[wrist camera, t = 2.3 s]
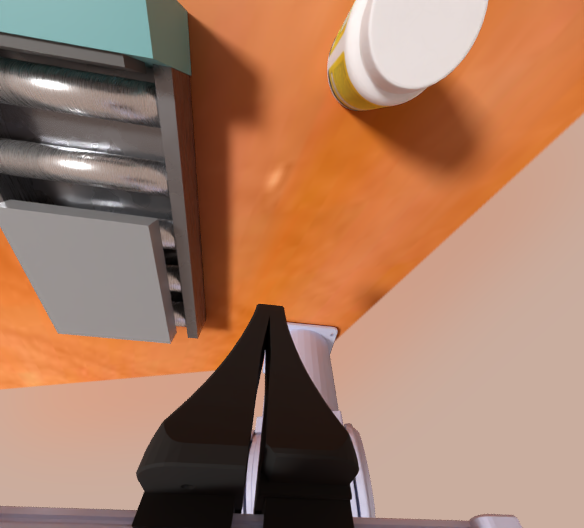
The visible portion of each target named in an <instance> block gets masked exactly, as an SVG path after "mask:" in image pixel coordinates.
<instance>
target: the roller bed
mask: <svg viewBox="0 0 584 528" xmlns="http://www.w3.org/2000/svg"><path fill="white" fill-rule="evenodd" d="M8 200H18V201H26V202H34V203H42V204H49V205H57V206H65V207H73V208H81V209H88V210H96V211H104V212H112V213H120V214H127V215H135V216H143V217H151V218H158V220H159V227H160V233H161V239H162V245H163V251H164V257H165V263H166V269H167V276H168V282H169V288H170V294H171V300H172V306H173V312H174V318H175V325H176V326H182V327H187V334H188V338H198V337H199V335H200V332H201V330H202V328H203V325H204V323H205V321H206V308H205V293H204V278H203V264H202V249H201V234H200V219H199V204H198V189H197V174H196V159H195V144H194V129H193V115H192V100H191V85H190V75H188V74H186V73H183V72H181V71H179V70H177V69H174V68H172V67H167V66H162V65H156V64H153V68H148V67H146V74H143V73H138V72H132V71H126V70H120V69H114V68H109V67H103V66H97V65H91V64H85V63H80V62H74V61H68V60H62V59H56V58H51V57H45V56H39V55H33V54H27V53H22V52H16V51H10V50H4V49H0V202H4V201H8Z"/></svg>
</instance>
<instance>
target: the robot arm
mask: <svg viewBox="0 0 584 528" xmlns="http://www.w3.org/2000/svg"><path fill="white" fill-rule="evenodd" d="M337 333H338V330H337V328H336V327H330V326H320V325H310V324H300V323H290V322H287V321H286V317H285V311H284V307H283V306H276V305H266V304H258V305H257V307H256V310H255V312H254V314H253V317H252V319H251V321H250V322H249V324H248V326H247V328H246V329H245V331H244V333H243V334H242V336H241V338H240V339H239V340H238V342H237V343H236V345H235V346H234V348H233V349H232V351H231V352H230V353H229V355H228V356H227V357H226V358H225V360H224V361H223V362H222V364H221V365H220V366H219V367H218V368H217V369H216V371H215V372H214V373H213V374H212V375H211V376H210V377H209V378H208V380H207V381H206V382H205V383H204V384H203V385H202V386H201V387H200V388H199V389H198V390H197V391H196V392H195V393H194V394H193V395H192V396H191V397H190V398H189V399H188V400H187V401H186V402H184V403H183V404H182V405H181V406H180V407H179V408H178V409H177V410H175V411H174V412H173V413H172V414H171V415H170V416H169V417H168V418H166V419H165V420H164V421H163V423H162V424H161V426H160V427H159V429H158V430H157V432H156V433H155V435H154V437H153V438H152V440H151V442H150V444H149V445H148V447H147V449H146V451H145V453H144V456H143V459H142V461H141V463H140V465H139V468H138V470H137V472H136V474H137V478H138V481H139V482H140V484H141V486H142V487H143V489H144V491H145V492H144V494H143V497H142V499H141V502H140V505H139V507H138V510H110V509H79V508H48V507H15V506H0V528H522V526H521V525H520V523H519V521H518V519H517V518H516V517H515V516H514V515H498V514H497V515H496V514H483V515H478V516H475V517H473V518H471V519H470V521H457V520H426V519H393V518H375V507H374V499H373V493H372V487H371V481H370V475H369V470H368V465H367V461H366V456H365V452H364V448H363V444H362V440H361V437H360V434H359V432H358V431H357V430H356V429H355V428H353V426H352V424H350V423H348V424H344V426H343V421H342V415H341V411H339V410H338V404H337V398H336V391H335V385H334V379H333V373H332V367H331V361H330V353H331V350H332V347H333V344H334V341H335V338H336V335H337ZM264 355H265V357H264ZM263 360H264V365H263ZM262 365H263V373H264V374H265V396H264V406H263V415H262V416H261V417H257V420H256V429H255V430H252V425H253V417H254V408H255V400H256V394H257V389H258V384H259V379H260V374H261V370H262Z"/></svg>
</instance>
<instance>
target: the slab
mask: <svg viewBox="0 0 584 528" xmlns="http://www.w3.org/2000/svg"><path fill="white" fill-rule="evenodd" d="M0 227H1V229H2V231H3V233H4V234H5V236H6V238H7V240H8V242H9V244H10V246H11V247H12V249H13V251H14V253H15V255H16V257H17V258H18V260H19V262H20V264H21V266H22V268H23V270H24V271H25V273H26V275H27V277H28V279H29V281H30V282H31V284H32V286H33V288H34V290H35V292H36V294H37V295H38V297H39V299H40V301H41V303H42V305H43V307H44V308H45V310H46V312H47V314H48V316H49V318H50V319H51V321H52V323H53V325H54V327H55V329H56V331H57V332H58V333H59V334H70V335H81V336H92V337H103V338H114V339H126V340H137V341H148V342H159V343H170V344H171V342H172V340H173V338H174V336H175V334H176V333H177V331H176V325H175V318H174V312H173V306H172V300H171V294H170V288H169V282H168V276H167V269H166V263H165V257H164V251H163V245H162V239H161V233H160V227H159V220H158V218H151V217H143V216H135V215H127V214H120V213H112V212H104V211H96V210H88V209H81V208H73V207H65V206H57V205H49V204H42V203H34V202H26V201H18V200H8V201H4V202H0Z"/></svg>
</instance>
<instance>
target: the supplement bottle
mask: <svg viewBox="0 0 584 528" xmlns="http://www.w3.org/2000/svg"><path fill="white" fill-rule="evenodd" d="M487 4H488V0H355V2H354V4H353V6H352V8H351V10H350V12H349V14H348V16H347V17H346V19H345V21H344V23H343V25H342V27H341V28H340V30H339V32H338V34H337V36H336V38H335V40H334V42H333V44H332V47H331V50H330V53H329V57H328V64H327V75H328V82H329V86H330V89H331V92H332V94H333V96H334V97H335V99H336V100H337V101H338V102H339V103H340V104H341V105H342V106H344V107H346V108H348V109H350V110H354V111H366V110H372V109H377V108H384V107H389V106H395V105H399V104H402V103H405V102H407V101H409V100H411V99H413V98H415V97H416V96H418V95H419V94H420V93H422V92H423V91H424V90H425V89H426V88H427V87H429V86H431V85H433V84H435V83H437V82H439V81H440V80H442V79H443V78H445V77H446V76H447V75H448V74H450V73H451V72H452V71H453V70H454V69H455V68H456V67H457V66H458V65H459V64H460V62H461V61H462V60H463V59H464V58H465V56H466V55H467V53H468V52H469V50H470V49H471V47H472V45H473V44H474V42H475V40H476V38H477V36H478V33H479V31H480V29H481V26H482V23H483V20H484V17H485V13H486V10H487Z"/></svg>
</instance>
